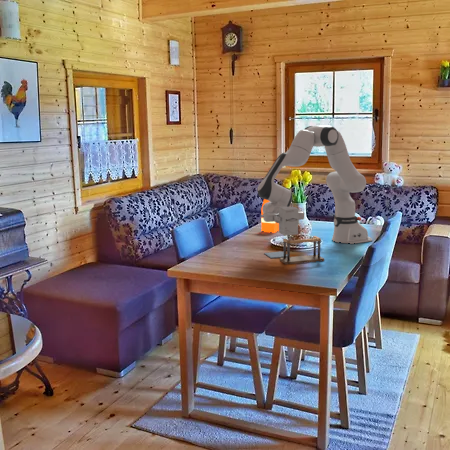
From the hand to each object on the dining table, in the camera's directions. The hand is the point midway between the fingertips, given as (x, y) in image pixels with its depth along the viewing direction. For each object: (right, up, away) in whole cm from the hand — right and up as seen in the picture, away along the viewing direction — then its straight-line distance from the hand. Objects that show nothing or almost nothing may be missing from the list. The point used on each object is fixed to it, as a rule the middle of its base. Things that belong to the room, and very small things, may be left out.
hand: (289, 218), depth 263 cm
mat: (-4, -19, +20) cm, 28 cm away
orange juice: (-2, -7, +81) cm, 81 cm away
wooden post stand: (+7, -19, +9) cm, 23 cm away
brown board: (+7, -20, +9) cm, 24 cm away
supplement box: (0, -7, +2) cm, 8 cm away
